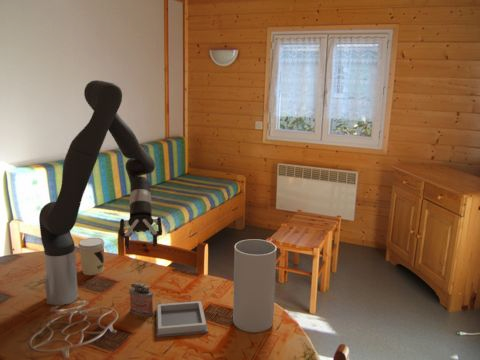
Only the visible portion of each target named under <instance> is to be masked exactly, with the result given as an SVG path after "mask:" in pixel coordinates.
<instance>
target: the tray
mask: <svg viewBox="0 0 480 360" xmlns="http://www.w3.org/2000/svg"><path fill="white" fill-rule="evenodd" d="M155 320H156V321H155V322H156V323H155V325H156V326H155V327H156V329H155V330H156V333H155V335H156V338H164V337H165V338H166V337H177V336H189V335H198V334H199V335H200V334H207V333H209V329H208V324H207V322H206V321H207V319H206V316H205V311H204V307H203V303H202V300H197V301H185V302H183V301H182V302H173V303H172V302H170V303H160V304H157V309H155Z"/></svg>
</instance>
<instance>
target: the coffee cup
mask: <svg viewBox="0 0 480 360" xmlns="http://www.w3.org/2000/svg"><path fill="white" fill-rule="evenodd" d="M78 247H79V248H78V250H79V256H80V257H79V258H80V264H81V270H82V273H83V275H86V276H95V275H100V274H102V272H104V268H105V266H104V265H105V241H104V239H103V238H100V237H88V238H83V239H82V240H80V241H79V243H78Z"/></svg>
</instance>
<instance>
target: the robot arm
mask: <svg viewBox="0 0 480 360" xmlns="http://www.w3.org/2000/svg"><path fill="white" fill-rule="evenodd" d="M83 94H84V99H85V101H86V103H87V105H88V106H89V107H90V108H91V109H92V111H93V112H92V114H91V117H90V119H89V121H88V123H87V124H86V125H85V126H84V127H83V128H82V130H80V131H79V133H77V135H76V136H75V137H74V138H73V139H72V141H71V142H70V144H69V146H68V148H67V151H66V154H65V158H64V161H63V164H62V165H63V166H62V174H61V186H60V189H59V193H58V195H57V198H56V201H50V202H48V203H46V204H45V205H43V207H42V208H41V209H40V211H39V212H40V213H39V216H38V217H39V219H38V220H39V221H38V223H39V230H40V239H41V243H42V246H43V253H44V261H45V262H44V263H45V276H44V286H45V296H46V297H45V298H46V304H47V305H53V306H63V305H62V304H66V305H69V304H72V303H73V302H76V300H77V299H78V298H79V293H78V292H79V291H78V290H79V289H78V277H77V263H76V250H75V249H76V247H75V241H74V239H73V236H72V234H71V231H72V230H73V228H74V226H75V224H76V222H77V218H78V215H79V210H80V207H81V205H82V199H83V197H84V194H85V191H86V188H87V186H88V184H89V182H90V181H89V180H90V178H91V175H92V173H93V170H94V168H95V166H96V163H97V160H98V157H99V154H100V152H101V149H102V146H103V144H104V141H105V139H106V136H107V134H108V131H109V133H110V135H111V137H112V138H113V140H114V142H115V143H116V145H117V147H118V148H119V150H120V152H121V154H122V155H123V157H124V158H125V159H128V160H127V161H126V163H125V170H126V173H127V176H128V179H129V184H130V197H129V219H125V220H124V219H123V218H121V219H120V221H119V233H118V234H119V237H120V238H121V239H124V247H125V248H126V249H127V250H129V249H130V237H131V236H132V235H134V233H135V232H136V233H140V232H141V233H142V232H143V233H145V232H148V233H149V234H150V235H152V247H153V248H156V246H158V237H159V236H162V235H163V226H162V219H161V217H157V218H153V211H152V196H151V195H152V193H151V182H150V180H149V178H147V177H146V176H145V175H149V174H151V173H153V172H154V171H155V167H156V164H155V160H154V159H153V158H152V155H150V153H148V152H147V151H146V150H145V149H144V147H142V146H141V144H140V143H139V140H138V138H137V136H136V135H135V133H134V132H133V130H132V128H131V127H130V126H129V125H128V124H127V123H126V121H124V120H123V118H122V117H121V116H120V115H119V114H118V111H119V109H120V106H121V104H122V100H123V92H122V89H121V88H120V86H119V85H118V84H116V83H113V82H108V81H104V80H91V81H90V82H88V83H87V84H86V85H85V87H84V93H83ZM153 224H154V225H156V226H157V231H156V229H154V227H153V226H152V225H153ZM127 225H129V226H130V227H129V228H128V229H127V231H126V232H125V227H127Z"/></svg>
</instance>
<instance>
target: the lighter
mask: <svg viewBox="0 0 480 360" xmlns="http://www.w3.org/2000/svg"><path fill="white" fill-rule="evenodd" d="M130 286H131V288H130V289H129V299H130V301H129V302H130V308H129V312H130V314H133V315H136V316H139V317H148V318H149V317H153V316H154V303H153V301H154V299H153V296H154V292H153V290H150V286H149V285H146V284H145V283H144V282H143V283H138V282H131V284H130Z"/></svg>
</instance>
